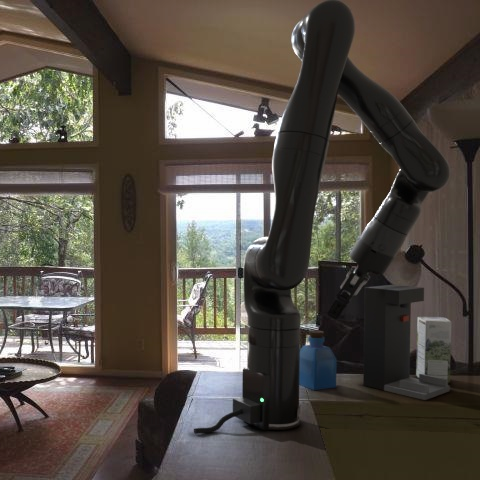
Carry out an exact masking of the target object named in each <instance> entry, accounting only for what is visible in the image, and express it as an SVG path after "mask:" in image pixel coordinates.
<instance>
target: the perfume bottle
mask: <svg viewBox="0 0 480 480" xmlns="http://www.w3.org/2000/svg"><path fill="white" fill-rule="evenodd" d="M308 333H309V336H307V337H308V339H307V341H308V342H309V344H305V345H302V347H300V375H299V386H302V387H304V388H307V389H310V390H312V391H317V390H326V389H333V388H337V365H338V364H337V360H338V359H337V357H336V356H335V354H334V352H333V350H332V349H331V347H329V346H325V345H324V343H325V336H324V334H325V332H324V330H315V329H313V330H309V331H308Z"/></svg>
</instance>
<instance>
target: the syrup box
mask: <svg viewBox="0 0 480 480" xmlns="http://www.w3.org/2000/svg"><path fill="white" fill-rule="evenodd" d="M416 320H417V323H416V324H417V326H416V363H415V376H416V377H417V379H419V374H425V375H430V376H435V377H440V378H445V379H448V384H450V382H451V380H450V379H451V355H452V354H451V351H452V350H451V349H452V325H453V324H452V320H450V319H448V318H446V317H442V316H417V319H416Z"/></svg>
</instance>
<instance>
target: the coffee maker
mask: <svg viewBox="0 0 480 480" xmlns="http://www.w3.org/2000/svg"><path fill="white" fill-rule="evenodd" d="M424 301H425V287H423V286H421V287H420V286H409V285H396V284H388V285H376V286H367V287H366V286H364V316H363V317H364V318H363V319H364V321H363V322H364V323H363V325H364V326H363V378H362V379H363V381H362V382H363V387H369V388H372V389H377V390H381V391H385V392H389V393H393V394H398V395H402V396H405V397H409V398H414V399H417V400H422V401H427V400H431V399H433V398H435V397H438V396H440V395H443V394H446V393H448V392H450V390H451V386H450V385H449V383H448V379H445V378H440V377H435V376H430V375H425V374H419V378H415V377H410V376H411V375H410V374H411V367H410V366H411V319H412V318H411V317H412V316H411V315H412V314H411V313H412V303H413V304H414V303H420V302H424Z"/></svg>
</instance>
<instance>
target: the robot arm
mask: <svg viewBox="0 0 480 480" xmlns="http://www.w3.org/2000/svg"><path fill="white" fill-rule="evenodd" d="M355 22H356V20H355V17H354V14H353V12H352V10H351V8H350V7H349V6H348V4H346V3H345V2H344V1H342V0H323V1H321V2H319V3H317V4H316V5H314V6H313V7H312V8H311V9H310V10H308V12H307V13H306V14H305V15H304V16H303V17H302V18H301V19H300V21H298V23H297V24H296V25H295V26H294V28H293V31H292V33H291V46H292V49H293V52H294V53H295V55H296V56H297V57H298V59H300V61H301V65H300V66H301V67H300V71H299V75H298V77H297V81H296V83H295V86H294V88H293V90H292V92H291V95H290V97H289V99H288V101H287V104H286V106H285V108H284V111H283V112H282V113H283V114H282V116H281V119H280V122H279V124H278V127H277V132H276V137H275V141H274V146H273V152H272V157H271V174H272V175H271V176H272V183H273V189H274V198H275V199H274V211H273V216H272V221H271V224H270V228H269V229H270V230H269V232H268V236H263V237H260V238H258V239H255V240H254V241H253V242H251V244H249V246H248V248H247V249H246V252H245V254H244V259H243V304H244V309H245V312H246V316H247V352H246V353H247V354H246V355H247V357H246V358H247V360H246V367H243V368H242V385H241V386H242V388H241V389H242V391H241V392H242V393H241V395H242V396H241V397H240V396H239V397H234V398H232V412H229V413H227V414H225V415H224V416H221V418H219V420H218V422H217V423H216V424H215V425H213V426H209V427H195V428H193V433H194V434H195V435H197V434H211V433H214V432H216V431H219V430H220V429H221V427H222V426H223V425H224V424H225V423H226V422H228V420H231V419H232V418H237V419H238V420H241V421H243V422H245V423H247V424H249V425H251V426H253V427H255V428H257V429H259V430H261V431H269V430H270V431H271V430H272V431H286V430H291V429H295V428H297V427H298V426H299V425H300V415H301V404H300V385H299V375H300V350H301V313H300V311H299V310H298V308H297V307H296V305H295V302H294V301H293V296H292V290H293V289H296V288H297V287H298V286H299V285H300V284H301V283H302V282H303V281H304V280H305V277H306V276H307V273H308V271H309V267H310V260H311V259H310V258H311V249H312V238H313V228H314V219H315V212H316V206H317V203H318V198H319V192H320V188H321V183H322V178H323V177H322V176H323V172H324V168H325V165H326V161H327V160H326V159H327V155H328V150H329V145H330V140H331V135H332V134H331V133H332V127H333V123H334V117H335V111H336V107H337V100H338V97H340V98H341V100H342V101H344V102H345V104H346V105H347V106H348V108H350V109H351V110H352V111H353V112H354V114H355V115H356V116H357V117H358V118H359V119H360V121H361V122H362V123H363V124H364V126H365V127H366V128H367V130H368V131H369V132H370V133H371V135H372V136H373V137H374V139H375V140H376V141H377V143H379V145H380V146H381V147H382V148H383V150H384V151H386V153H388V155H390V157H392V159H393V160H394V162H395V163H396V164H397V166H398V168H400V169H399V170H398V172H397V175H396V176H395V179H394V181H393V183H392V186H391V188H390V190H389V192H388V194H387V196H386V197H385V198H384V200H383V201H382V203H381V204H380V206H379V208H378V209H377V211H376V213H375V215H374V216H373V217H372V219H371V220H370V221H369V222H368V223H367V225H366V226H365V228H364V229H363V231H362V233H361V234H360V236H359V237H358V238H357V241H356V242H355V244H354V246H353V247H352V249H351V250H350V252H349V258H350V259H351V261H353V262H354V263H355V264H357V266H356V267H355V266H352V267H351V268H350V269H349V271H348V272H347V274H346V277H345V279H344V280H343V281H342V283H341V285H340V286H339V289H340V290H339V292H338V293H337V294H336V295H335V300H334V301H333V303H332V305H331V307H330V308H329V310H328V311H327V316H329V317H330V318H332V319H333V320H338V319H339V317H340V316H341V314H342V313H343V311H344V309H345V308H346V307H347V306H348V305H350V302H351V300H352V298H356V297H357V295H358V294H359V292H361V290H362V288H363V287H364V288H365V287H366V285H367V283H368V281H369V280H370V279H371V276H370V275H369V273H370V272H372V274H375V275H383V274H385V273H386V272H387V270H388V268H389V267H390V266H391V264H392V262H393V260H394V259H395V258H396V257H397V254H399V252H400V250H401V248H402V247H403V245H404V243H405V241H406V238H407V237H408V236H409V234H410V233H411V231H412V229H413V227H414V226H415V225H416V223H417V222H418V220H419V218H420V216H421V214H422V210H423V209H422V206H423V203H424V201H425V200H426V198H427V196H428V194H429V193H434V192H437V191H439V190H442V189H443V188H444V187H445V186H446V185H447V184H448V182H449V180H450V177H451V167H450V163H449V162H448V160H447V159H446V157H445V156H444V155H443V154H442V153H441V151H440V150H439V149H438V148H437V147H436V146H435V145H434V144H433V143H432V141H431V140H430V139H429V138H428V137H427V136H426V135H425V134H424V133H423V131H422V130H421V129H420V127H419V126H418V124H417V122H416V121H415V120H414V118H413V117H412V116H411V114H410V113H409V112H408V110H407V109H406V107H404V105H403V104H402V103H401V101H400V100H399V99H398V98H397V97H396V96H395V95H394V94H393V93H391V91H389V90H388V89H387V88H385V87H384V86H382V85H381V84H379V83H378V82H376V80H375V81H374V80H373V79H372V78H370V77H369V76H368V75H367V74H365V73H364V72H363V71H361V70H360V69H359V68H358V67H357V66H356V65H355V64H354V62H353V61H352V60H351V58H350V57H349V54H350V50H351V47H352V44H353V41H354V37H355V34H356V33H355V32H356V23H355Z"/></svg>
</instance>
